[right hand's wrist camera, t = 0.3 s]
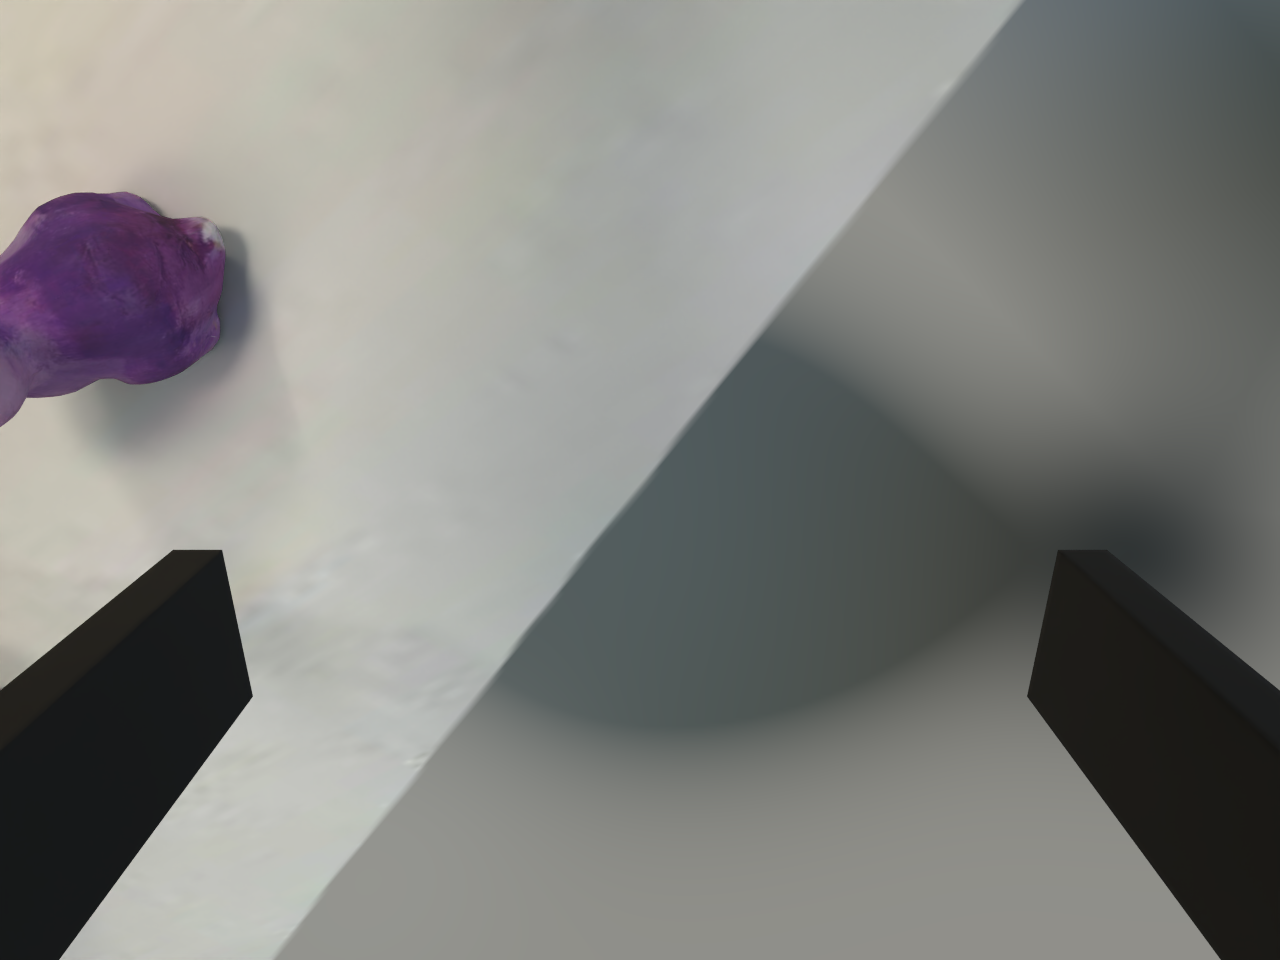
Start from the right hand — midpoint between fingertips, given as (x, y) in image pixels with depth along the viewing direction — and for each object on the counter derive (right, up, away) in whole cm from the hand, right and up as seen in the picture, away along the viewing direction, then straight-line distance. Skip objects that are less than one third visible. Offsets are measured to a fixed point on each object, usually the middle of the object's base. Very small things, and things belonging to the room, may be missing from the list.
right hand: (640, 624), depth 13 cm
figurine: (-24, +11, +26) cm, 37 cm away
